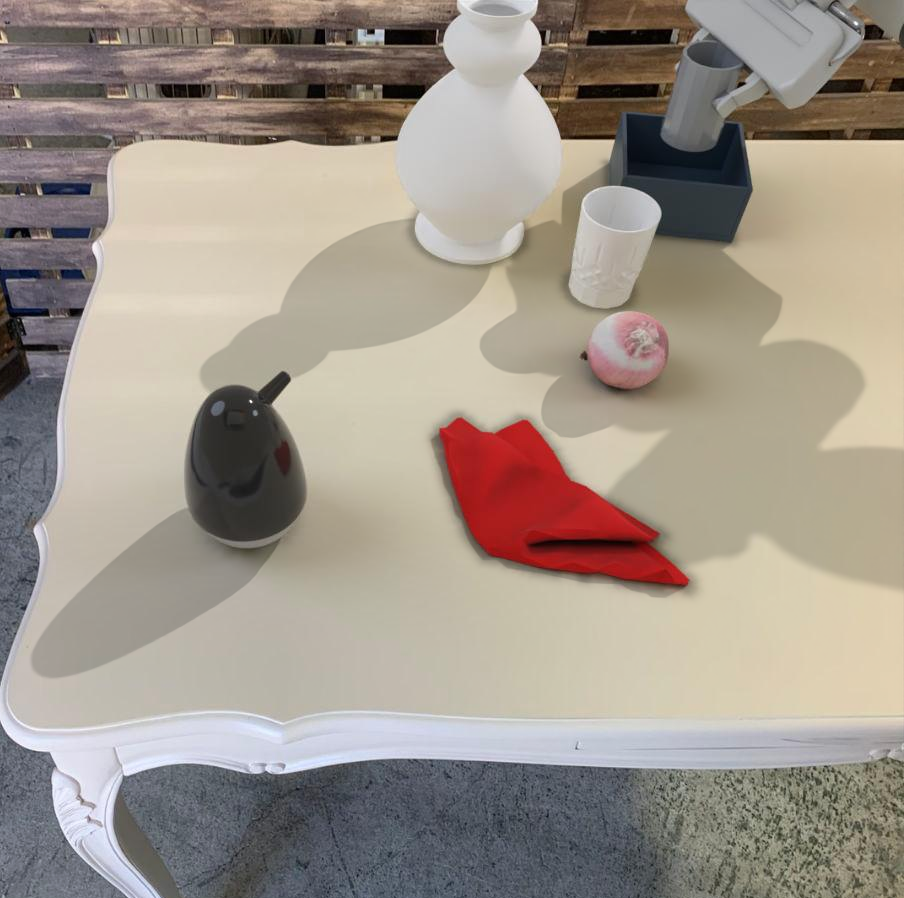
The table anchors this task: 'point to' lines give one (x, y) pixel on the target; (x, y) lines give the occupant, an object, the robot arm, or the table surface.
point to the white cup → (611, 244)
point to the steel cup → (699, 95)
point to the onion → (627, 350)
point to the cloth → (544, 508)
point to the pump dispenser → (244, 466)
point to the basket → (684, 177)
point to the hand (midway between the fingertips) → (697, 93)
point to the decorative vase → (481, 138)
